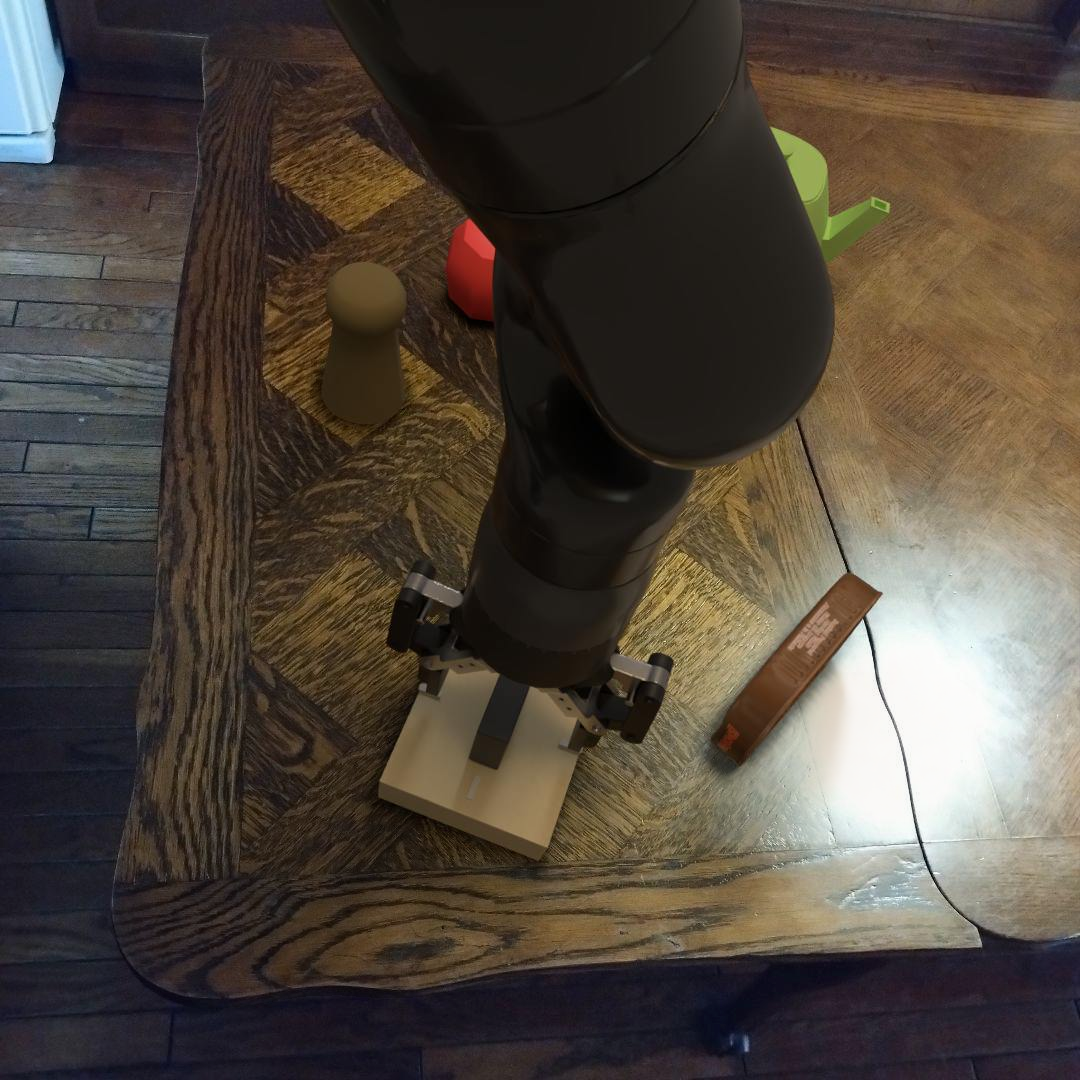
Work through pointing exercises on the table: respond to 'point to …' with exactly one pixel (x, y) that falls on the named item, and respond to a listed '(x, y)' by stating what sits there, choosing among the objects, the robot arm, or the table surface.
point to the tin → (793, 667)
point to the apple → (471, 271)
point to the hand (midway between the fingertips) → (508, 708)
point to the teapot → (826, 198)
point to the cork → (364, 344)
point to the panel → (472, 788)
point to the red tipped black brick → (498, 722)
